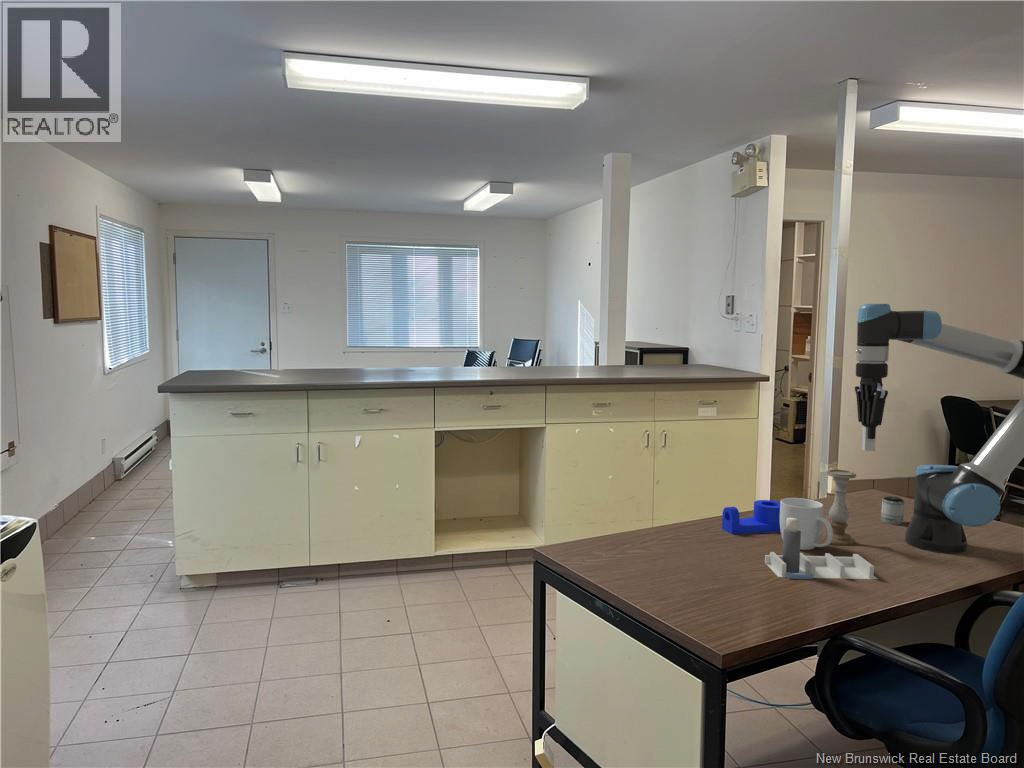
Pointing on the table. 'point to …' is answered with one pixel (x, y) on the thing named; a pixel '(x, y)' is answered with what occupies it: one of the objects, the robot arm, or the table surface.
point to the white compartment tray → (823, 567)
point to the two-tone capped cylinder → (791, 545)
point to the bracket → (753, 518)
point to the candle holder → (840, 509)
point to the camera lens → (892, 510)
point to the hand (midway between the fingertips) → (868, 450)
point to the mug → (805, 521)
